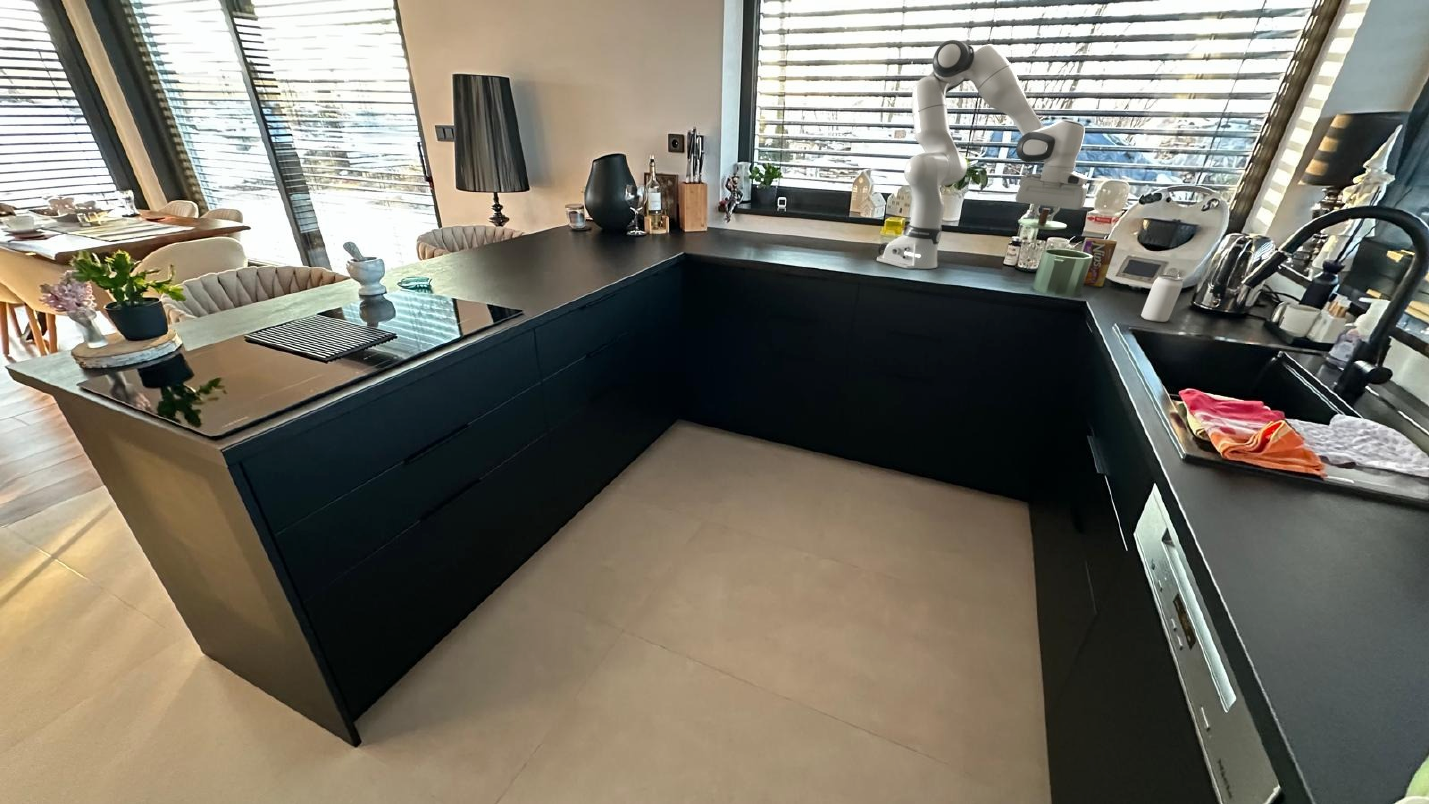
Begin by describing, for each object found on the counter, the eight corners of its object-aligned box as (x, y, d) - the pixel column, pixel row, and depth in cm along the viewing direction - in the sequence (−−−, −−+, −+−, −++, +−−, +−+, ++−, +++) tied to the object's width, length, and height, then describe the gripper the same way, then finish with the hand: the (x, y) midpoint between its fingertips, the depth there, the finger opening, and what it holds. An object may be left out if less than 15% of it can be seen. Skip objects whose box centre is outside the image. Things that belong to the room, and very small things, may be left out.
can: (1157, 315, 162) (1173, 274, 156) (1173, 322, 156) (1191, 280, 151) (1135, 314, 162) (1151, 274, 156) (1150, 322, 156) (1167, 280, 150)
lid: (1011, 225, 187) (1016, 207, 185) (1025, 220, 197) (1029, 203, 194) (1058, 232, 179) (1064, 214, 176) (1070, 227, 188) (1076, 209, 185)
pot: (1024, 293, 179) (1035, 254, 174) (1041, 282, 192) (1052, 245, 186) (1071, 302, 171) (1084, 262, 165) (1086, 290, 184) (1099, 252, 178)
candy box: (1100, 285, 190) (1116, 239, 183) (1102, 288, 187) (1118, 242, 180) (1070, 281, 194) (1085, 236, 187) (1072, 284, 190) (1086, 239, 183)
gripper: (1019, 173, 184) (1007, 216, 191) (1088, 179, 172) (1073, 225, 179) (1025, 172, 188) (1013, 214, 195) (1093, 178, 176) (1078, 223, 183)
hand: (1043, 219), depth 187 cm, fingers closed on lid, 2 cm apart
